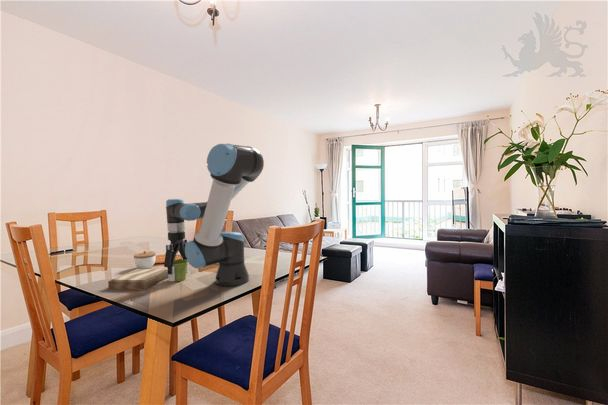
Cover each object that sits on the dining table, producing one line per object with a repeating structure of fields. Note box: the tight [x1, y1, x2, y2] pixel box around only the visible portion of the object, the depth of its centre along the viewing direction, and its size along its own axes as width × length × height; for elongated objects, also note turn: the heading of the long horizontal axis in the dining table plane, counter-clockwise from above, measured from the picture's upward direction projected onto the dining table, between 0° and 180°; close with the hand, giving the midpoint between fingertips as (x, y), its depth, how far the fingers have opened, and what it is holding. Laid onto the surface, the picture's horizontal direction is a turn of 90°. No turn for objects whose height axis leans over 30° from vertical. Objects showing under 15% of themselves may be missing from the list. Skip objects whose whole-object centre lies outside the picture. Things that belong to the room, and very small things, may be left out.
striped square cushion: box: [107, 268, 168, 291], centre depth 134 cm, size 18×18×4 cm
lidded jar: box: [133, 250, 157, 269], centre depth 159 cm, size 11×11×9 cm
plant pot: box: [173, 259, 189, 283], centre depth 137 cm, size 9×9×9 cm
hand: (178, 276), depth 137 cm, fingers open, 11 cm apart
